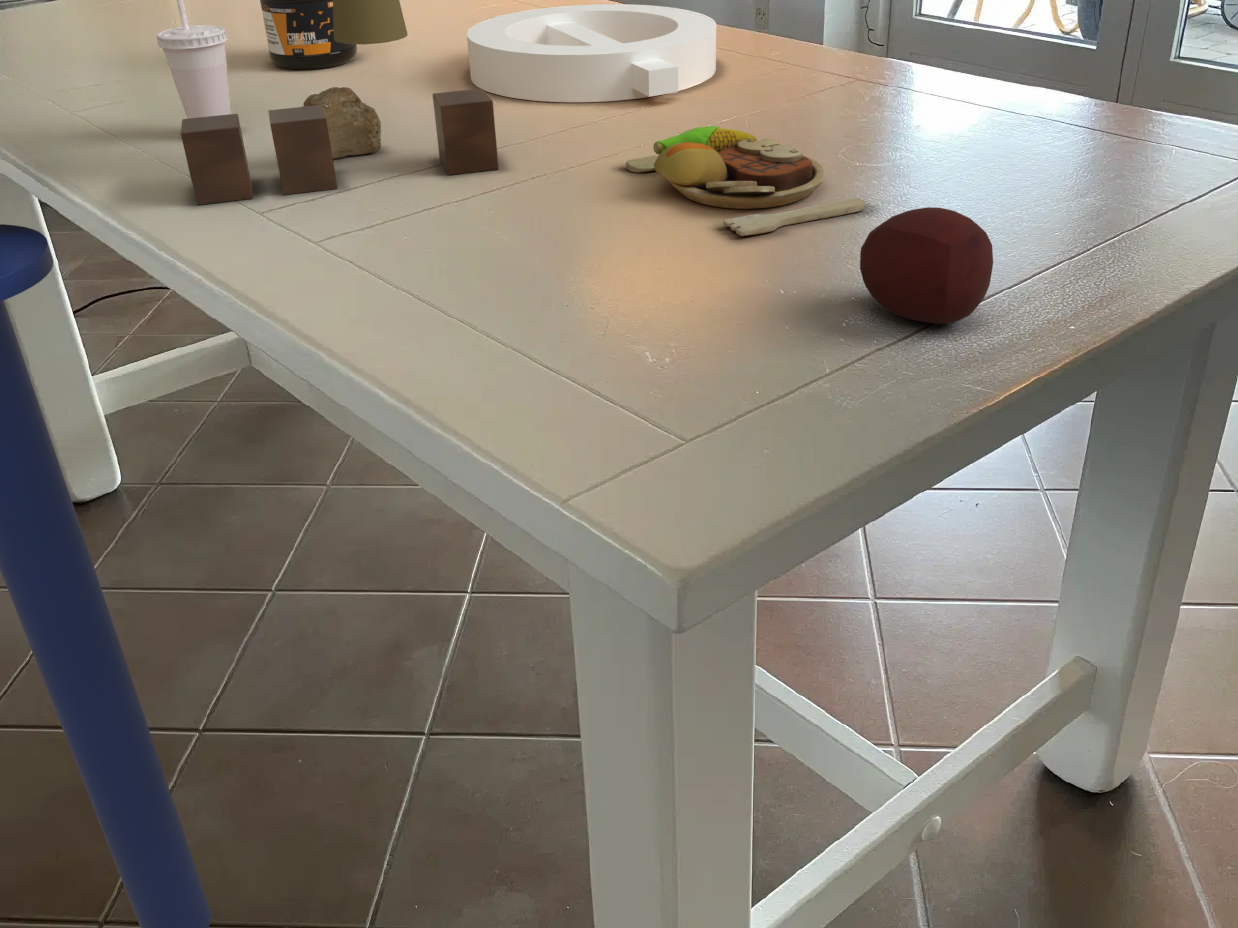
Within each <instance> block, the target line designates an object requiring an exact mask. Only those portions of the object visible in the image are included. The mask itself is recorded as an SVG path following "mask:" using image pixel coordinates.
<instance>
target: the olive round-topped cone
mask: <svg viewBox="0 0 1238 928" xmlns="http://www.w3.org/2000/svg"><path fill="white" fill-rule="evenodd" d="M333 25H334V41H336V42H339V43H343V44H356V45H376V44H385V43H391V42H395V41H400V40H403V39H405V38H407V37H408V35H409V34H408V30H407V26H406V22H405V17H404V14H403V10H402V5H401V2H400V0H333Z"/></svg>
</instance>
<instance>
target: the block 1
mask: <svg viewBox="0 0 1238 928" xmlns="http://www.w3.org/2000/svg"><path fill="white" fill-rule="evenodd" d="M242 133H243V132H242V130H241V123H240V119H239V114H238V113H231V114H228V115H219V116H209V117H199V118H189V119H187V118H182V119H181V126H180V137H181V141H182V145H183V150H184V154H185V159H186V162H187V167H188V172H189V176H190V181H191V185H192V189H193V194H194V197H195V198H194V199H195V202H196V205H197V206H202V205H210V204H218V203H219V204H220V203H226V202H235V201H243V200H252V199H253V198H254V195H253V183H252V182H253V181H252V178H251V173H250V167H249V163H248V158H247V153H246V148H245V143H244V139H243V134H242Z"/></svg>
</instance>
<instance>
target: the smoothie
mask: <svg viewBox="0 0 1238 928" xmlns="http://www.w3.org/2000/svg"><path fill="white" fill-rule="evenodd" d="M176 3H177V9H178V12H179V13H178V14H179V17H180V22H181V26H177V27H172V28H167V29H165V30H162V31H159V32H158V33H157V34H156V41H157V46H158V47H159V48H161V49H162V52H163V54H164V57H165V59H166V63H167V65H168V68H169V71H170V73H171V76H172V79H173V82H174V85H175V88H176V91H177V93H178V96H179V99H180V102H181V105H182V108H183V111H184V113H185V116H186V119H189V118H199V117H209V116H219V115H228V114H232V113H231V111H232V110H231V100H230V89H229V87H230V86H229V76H228V75H229V74H228V62H227V50H226V42H227V41H228V40H229V37H228V36H227V29H226V28H225V27H224V26H220V25H213V24H198V25H197V24H196V25H195V24H194V25H189V21H188V17H187V13H186V9H185V3H184V0H176Z"/></svg>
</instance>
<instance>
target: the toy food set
mask: <svg viewBox="0 0 1238 928" xmlns="http://www.w3.org/2000/svg"><path fill="white" fill-rule="evenodd" d="M653 152H654V153H655V154H656V155H651V156H644V157H640V158H633V159H628V160H625V168H626V170H628V171H629V172H632V173H647V172H652V171H653V172H654V171H655V173H656V174H658V175H659V176H660V177H662V178H663V179H665V180H667V181H669V182H670V184H671V186H672V187H674V189H676V190H677V191H678V192H679V193H680V194H681V195H683V197H685V198H687V199H689V200H691V201H693V202H696V203H699V204H702V205H705V206H710V207H717V208H724V209H737V210H738V209H739V210H754V209H768V208H775V207H780V206H785V205H789V204H792V203H796V202H798V201H801V200H802V199H805V198H806V197H809V195H811V194H812V193H813V191H814V190H816V189H817V188H818V187H819V186H821V185H822V183H823V182H824V180H825V178H826V174H827V172H826V170H825V168H824V166H823V165H822V164H821V163H820V162H818V161H817V160H815V159H813V158H811V157H808V156H806V155H804V153H803V151H802V150H796V146H794V145H790V144H780V142H779V141H777V140H775V139H771V138H763V139H759V140H758V139H757V137H756V136H755V135H754V134H750V133H748V132H745V131H741V130H736V129H732V128H731V129H730V128H721V126H720V127H719V126H713V125H709V126H700V127H696V128H692V129H689V130H686V131H683V132H681V133H679V134H677V135H674V136H671V137H668V138H665V139H661V140H657V141H655V142H654V143H653ZM865 204H866V203H865V201H864V200H863V199H862V198H859V197H847V198H841V199H835V200H831V201H828V202H822V203H818V204H813V205H810V206H805V207H801V208H797V209H793V210H788V211H787V210H786V211H782V212H778V213H771V214H768V213H766V214H765V213H755V214H754V213H753V214H749V215H743V216H738V217H733V218H727V219H724V220H722V221H723V225H724V226H726V227H728V228H729V229H730V230H731V231H733V232H735V233H736V234H737V235H738V236H740V237H744V236H746V237H747V236H752V235H759V234H765V233H770V232H775V230H777V229H778V228H780V227H784V226H789V225H794V224H795V225H796V224H800V223H805V222H810V221H814V220H815V221H817V220H821V219H822V220H823V219H827V218H833V217H838V216H844V215H849V214H853V213H858V212H861V211H864V210H865Z"/></svg>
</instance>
